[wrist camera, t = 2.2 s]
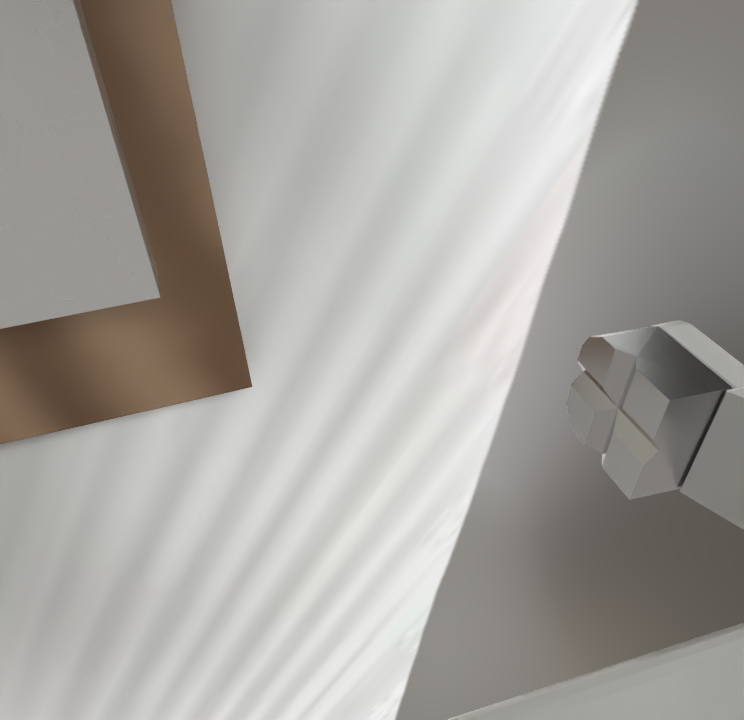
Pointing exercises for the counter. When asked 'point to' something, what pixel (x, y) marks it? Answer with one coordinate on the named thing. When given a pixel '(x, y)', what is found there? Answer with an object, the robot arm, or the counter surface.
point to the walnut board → (170, 249)
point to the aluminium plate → (63, 174)
